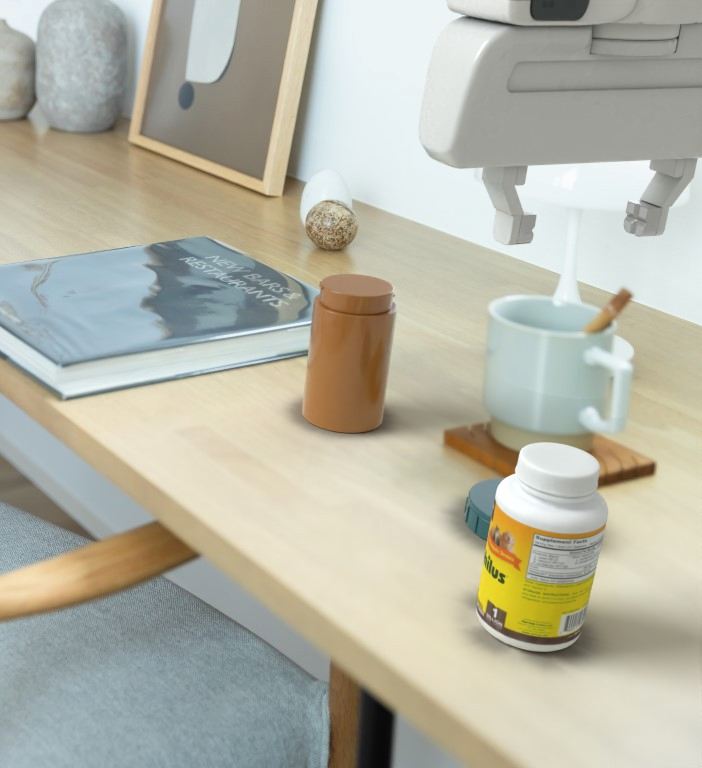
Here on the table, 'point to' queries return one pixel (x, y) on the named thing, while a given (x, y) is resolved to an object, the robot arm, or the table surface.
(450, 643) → the table surface
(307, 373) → the jar
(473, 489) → the lid
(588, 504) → the supplement bottle
